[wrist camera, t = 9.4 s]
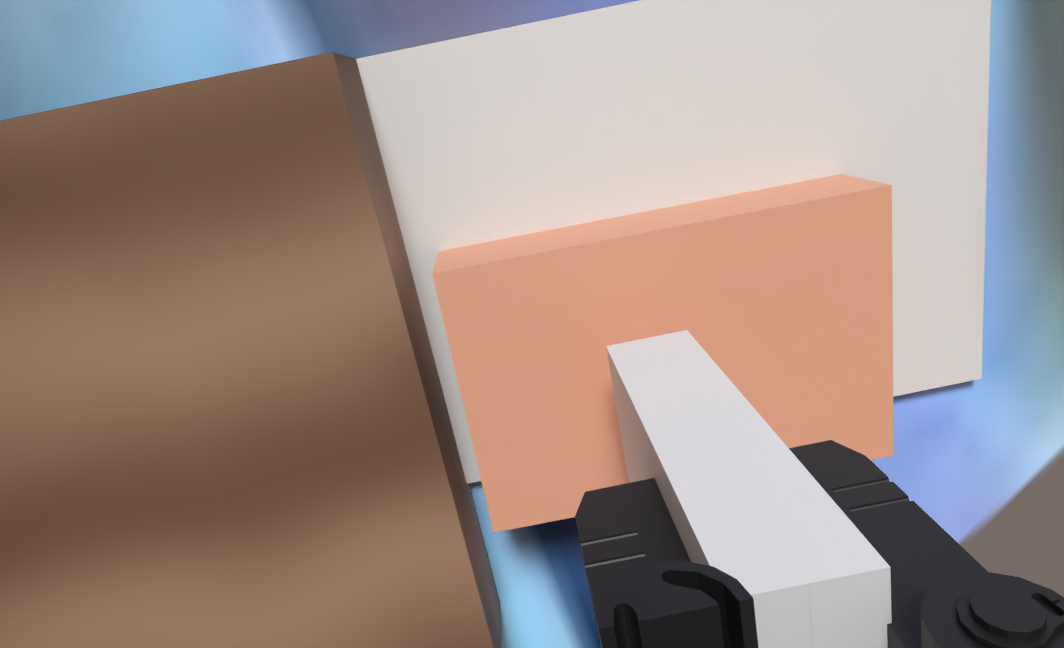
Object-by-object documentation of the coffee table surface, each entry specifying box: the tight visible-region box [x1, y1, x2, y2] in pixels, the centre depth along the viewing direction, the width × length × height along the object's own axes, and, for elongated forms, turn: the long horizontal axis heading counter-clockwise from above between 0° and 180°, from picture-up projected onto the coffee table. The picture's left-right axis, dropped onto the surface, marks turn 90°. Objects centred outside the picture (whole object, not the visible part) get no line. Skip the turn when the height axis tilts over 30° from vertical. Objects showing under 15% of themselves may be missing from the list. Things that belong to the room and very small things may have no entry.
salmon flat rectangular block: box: [432, 174, 894, 533], centre depth 15 cm, size 9×6×2 cm, turn 100°
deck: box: [0, 52, 501, 648], centre depth 15 cm, size 14×16×2 cm
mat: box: [356, 0, 991, 484], centre depth 15 cm, size 10×13×1 cm
